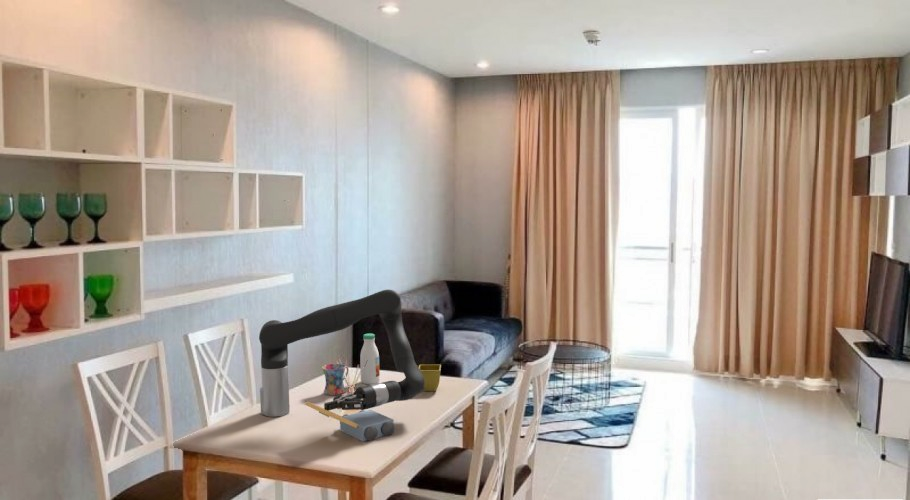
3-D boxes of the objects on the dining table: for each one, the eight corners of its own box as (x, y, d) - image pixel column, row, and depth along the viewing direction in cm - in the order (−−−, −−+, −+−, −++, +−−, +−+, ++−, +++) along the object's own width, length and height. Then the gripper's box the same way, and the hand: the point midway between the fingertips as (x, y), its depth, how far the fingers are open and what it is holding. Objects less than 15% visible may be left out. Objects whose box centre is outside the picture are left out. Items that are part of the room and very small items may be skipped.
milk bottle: (371, 385, 293) (370, 337, 291) (357, 383, 297) (355, 335, 295) (383, 381, 300) (382, 333, 298) (368, 378, 304) (367, 331, 302)
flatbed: (368, 421, 250) (368, 408, 249) (396, 433, 237) (395, 420, 237) (338, 429, 242) (338, 416, 242) (364, 442, 230) (364, 428, 229)
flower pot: (440, 392, 282) (440, 370, 281) (418, 392, 282) (417, 370, 281) (441, 386, 291) (440, 364, 290) (419, 386, 291) (419, 364, 290)
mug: (334, 398, 277) (333, 371, 276) (317, 394, 283) (316, 367, 282) (356, 390, 286) (355, 364, 285) (340, 386, 292) (339, 361, 291)
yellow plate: (337, 414, 241) (305, 400, 233) (361, 426, 229) (328, 411, 221) (335, 419, 240) (303, 405, 232) (359, 430, 229) (326, 416, 221)
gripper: (360, 380, 245) (314, 391, 234) (382, 389, 235) (335, 400, 224) (361, 402, 245) (315, 413, 234) (383, 411, 235) (336, 423, 224)
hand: (325, 407), depth 229 cm, fingers closed
